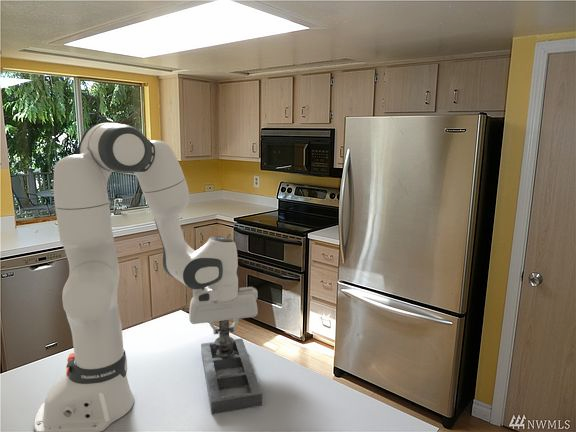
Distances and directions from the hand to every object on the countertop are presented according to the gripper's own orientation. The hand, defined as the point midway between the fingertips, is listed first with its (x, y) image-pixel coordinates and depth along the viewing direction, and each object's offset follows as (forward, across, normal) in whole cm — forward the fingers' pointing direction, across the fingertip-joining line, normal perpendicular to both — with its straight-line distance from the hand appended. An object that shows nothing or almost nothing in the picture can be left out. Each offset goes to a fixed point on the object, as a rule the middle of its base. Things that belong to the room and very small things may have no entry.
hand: (224, 332), depth 127 cm
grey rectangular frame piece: (+9, 0, +9) cm, 13 cm away
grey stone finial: (+7, 0, 0) cm, 7 cm away
